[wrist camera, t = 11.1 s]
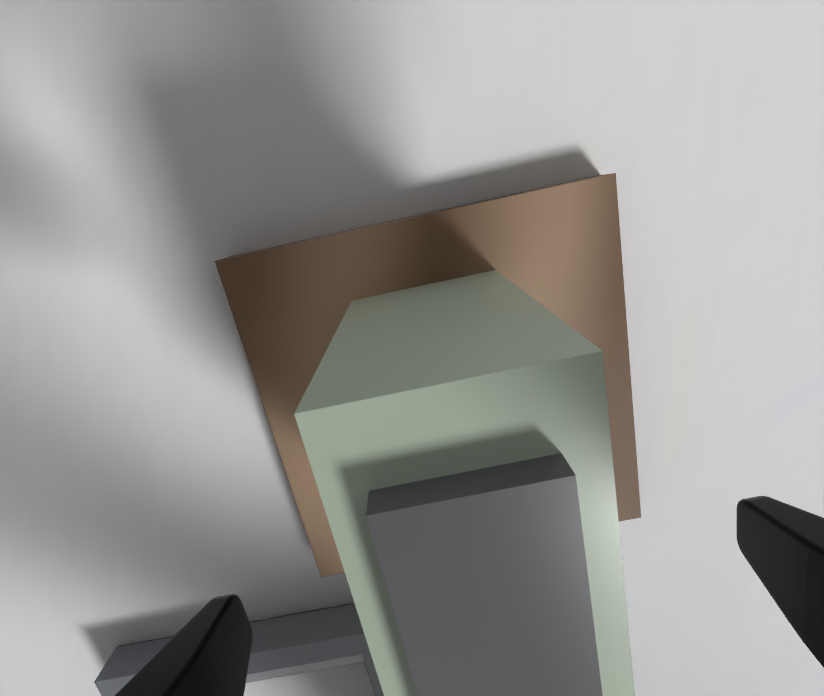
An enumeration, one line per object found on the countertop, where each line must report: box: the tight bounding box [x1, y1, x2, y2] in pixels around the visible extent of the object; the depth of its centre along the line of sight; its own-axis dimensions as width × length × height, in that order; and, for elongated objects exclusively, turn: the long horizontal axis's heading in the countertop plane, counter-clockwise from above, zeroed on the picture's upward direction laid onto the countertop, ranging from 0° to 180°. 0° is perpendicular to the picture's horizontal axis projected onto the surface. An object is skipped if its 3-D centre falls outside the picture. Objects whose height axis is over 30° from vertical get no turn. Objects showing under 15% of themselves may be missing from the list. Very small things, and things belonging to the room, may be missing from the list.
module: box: [294, 270, 635, 696], centre depth 11 cm, size 4×8×9 cm, turn 12°
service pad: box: [215, 173, 641, 577], centre depth 16 cm, size 12×12×1 cm
